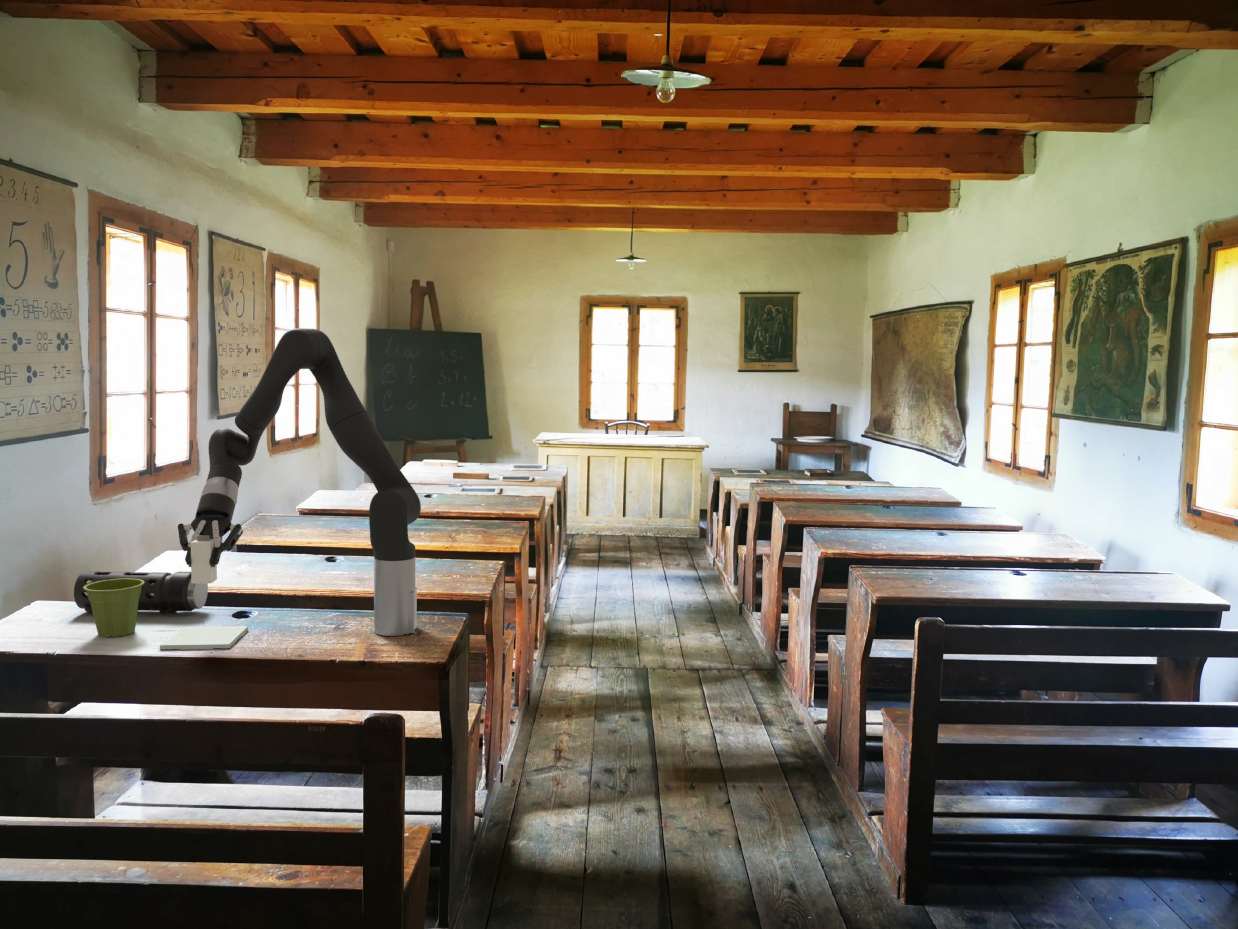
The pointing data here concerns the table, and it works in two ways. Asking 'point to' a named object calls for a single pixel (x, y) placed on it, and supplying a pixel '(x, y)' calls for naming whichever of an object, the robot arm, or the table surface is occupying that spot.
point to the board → (204, 637)
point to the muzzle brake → (151, 590)
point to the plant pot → (114, 605)
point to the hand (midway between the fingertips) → (201, 564)
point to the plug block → (202, 560)
